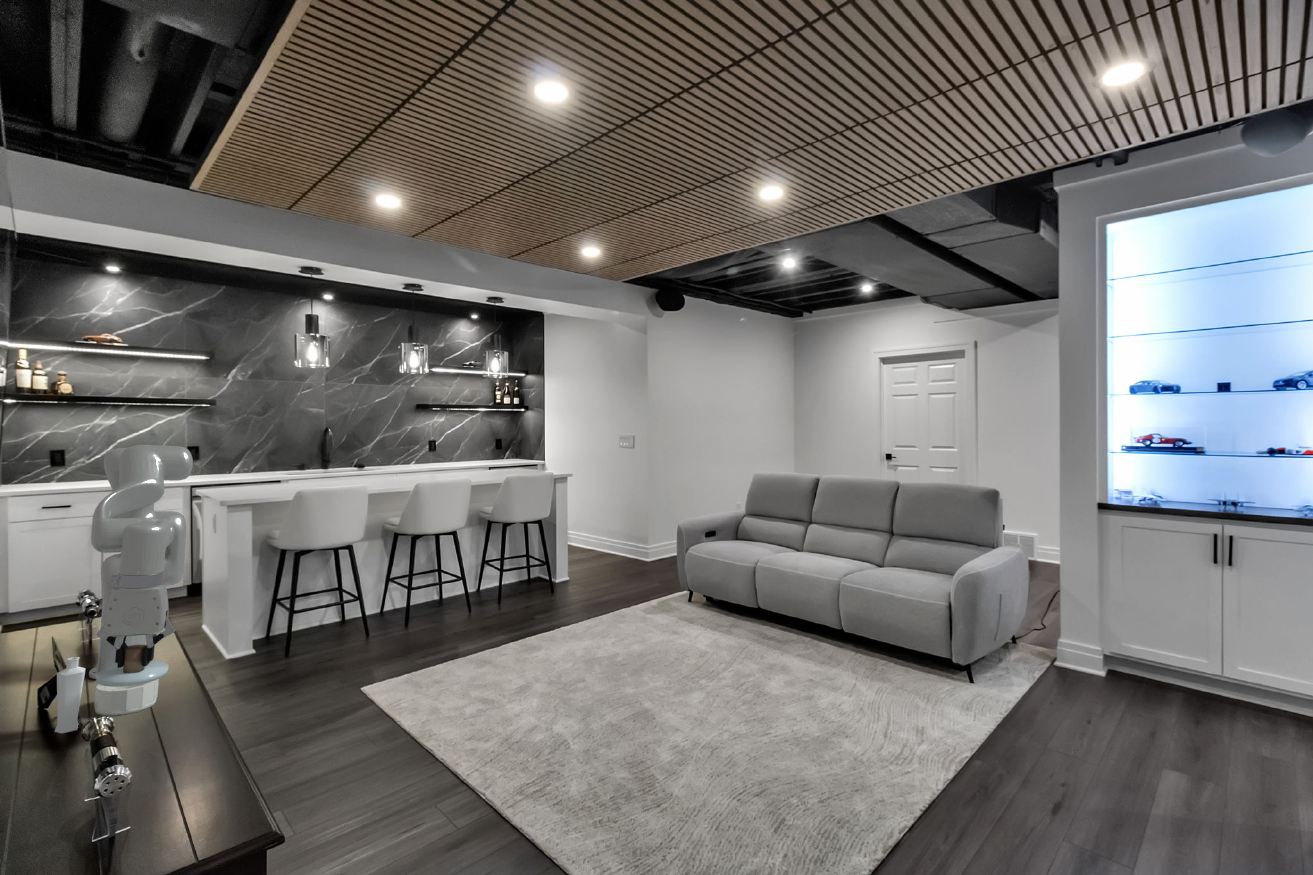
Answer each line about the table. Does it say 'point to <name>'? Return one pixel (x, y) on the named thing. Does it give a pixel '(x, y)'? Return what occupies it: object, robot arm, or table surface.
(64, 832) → the table surface
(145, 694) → the bowl
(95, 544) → the robot arm
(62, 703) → the perfume bottle
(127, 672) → the lid
